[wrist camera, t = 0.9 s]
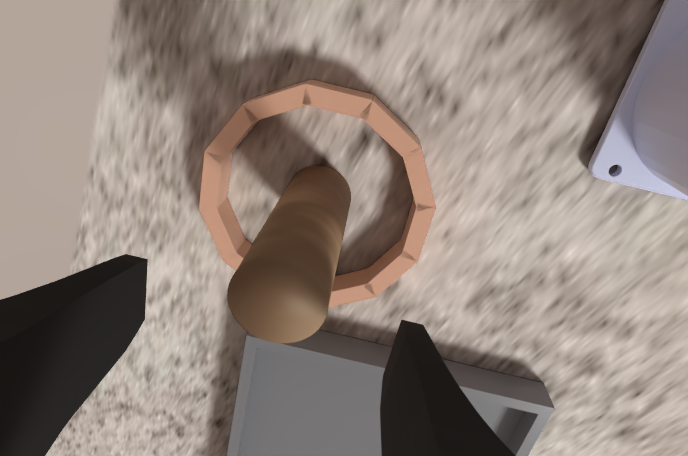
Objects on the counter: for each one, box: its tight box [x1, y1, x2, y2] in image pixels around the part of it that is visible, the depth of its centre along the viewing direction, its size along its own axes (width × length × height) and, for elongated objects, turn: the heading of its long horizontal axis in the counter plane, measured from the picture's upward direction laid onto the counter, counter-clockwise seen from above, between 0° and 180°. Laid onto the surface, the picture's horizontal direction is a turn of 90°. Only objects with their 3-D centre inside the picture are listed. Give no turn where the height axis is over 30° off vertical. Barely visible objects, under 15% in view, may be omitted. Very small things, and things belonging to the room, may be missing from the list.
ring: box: [199, 79, 436, 307], centre depth 21 cm, size 10×10×2 cm
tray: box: [227, 330, 555, 456], centre depth 27 cm, size 16×13×2 cm
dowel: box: [227, 165, 351, 343], centre depth 18 cm, size 3×3×9 cm
